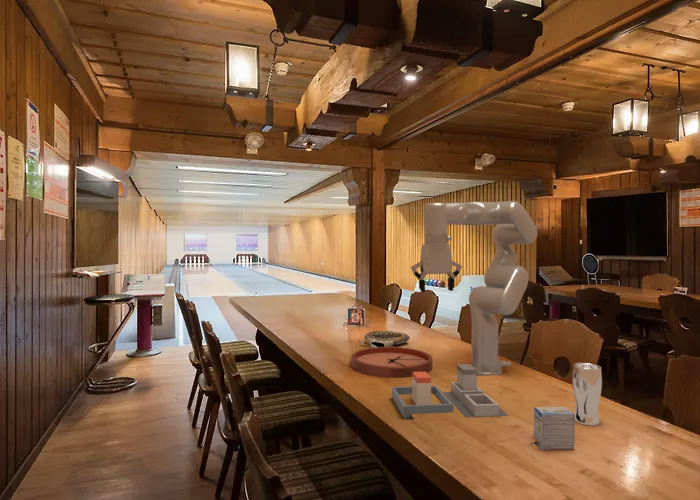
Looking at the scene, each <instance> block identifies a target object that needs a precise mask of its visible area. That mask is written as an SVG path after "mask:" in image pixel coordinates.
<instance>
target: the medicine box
mask: <svg viewBox="0 0 700 500" xmlns="http://www.w3.org/2000/svg"><path fill="white" fill-rule="evenodd" d="M575 426H576V421H575V412H572V410H571V409H570V408H567V407H566V406H540V407H539V406H538V407H537V406H536V407H534V408H533V437H534V438H535V439H536V440H537V441H534V443H535V445H536V446H537V447H538V448H539V449H540V450H541V451H553V450H554V451H555V450H559V451H560V450H561V451H562V450H575V437H576V436H575V435H576V434H575V431H576V428H575Z"/></svg>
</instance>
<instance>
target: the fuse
mask: <svg viewBox="0 0 700 500" xmlns="http://www.w3.org/2000/svg"><path fill="white" fill-rule="evenodd" d="M456 382H457V386H458V387H459V388H460V389H461V390H462V391H470V390H477V387H478V375H477V369H475V368H474V367H473V366H471V364H470V363H465V364H464V363H462V364H460V363H457V364H456Z"/></svg>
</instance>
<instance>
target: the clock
mask: <svg viewBox="0 0 700 500" xmlns="http://www.w3.org/2000/svg"><path fill="white" fill-rule="evenodd" d="M350 360H351V361H350V363H351V366H350V367H351V368H352V370H354V371H356V372H357V373H360V374H363V375H365V376H371V377H377V378H385V379H386V378H387V379H406V378H412V372H426V373H427V374H429V373H430V372H432V370H433V364H434V363H433V357H432V356H431V354H430V353H427V352H424V351H422V350H418V349H415V348H407V347H400V346H396V347H384V346H377V347H375V348H371V347H367V348H364V349H360V350H357V351H355V352H353V353H352V354H351V358H350Z"/></svg>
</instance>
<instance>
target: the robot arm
mask: <svg viewBox="0 0 700 500" xmlns="http://www.w3.org/2000/svg"><path fill="white" fill-rule="evenodd" d="M423 215H424V216H423V217H424V218H423V219H424V220H423V223H424V224H423V226H424V228H423V229H424V243H423V244H422V245H421V249H420V258H419V259H420V261H419V262H417V263H415V264H413V265H412V266H410V269H411V272H412V273H413V275H414V276H415V277H416V279H418V289H419V291H420V292H422V293H425V292H426V280H425V278H426V276H427V275H442V274H443V275H444V274H445V275H447V276H448V278H447V290H448V291H450V292H453V291H454V288H455V279H456V278H457V276H458V275H459V274H460V273H461V272H460V271H461V269H462V268H463V266H462V265H461V264H460V263H458V262H456V261H454V260H453V256H452V251H451V250H452V249H451V246H450V245H451V244H450V243H448V242H449V241H452V239H453V238H452V236H451V235H449V234H448V225H450V226H451V225H453V226H454V225H458V226H461V225H463V226H490V225H491V226H493V225H495V226H494V228H493V230H492V236H493V242H494V246H495V255H494V257H493V259H492V260H491V262H490V264H489V266H488V268H487V270H486V272H485V274H484V277H483V281H484V284H485V286H477V287H474V288H473V289H471V291H470V293H469V296H468V302H469V303H468V304H469V308H470V316H471V355H470V356H471V358H470V359H471V362H470V363H471V364H470V365H471V366H473V367H474V368H475V369H477V376H501V375H502V374H503V368H509V367H512V364H511V361H505V360H500V359H499V321H498V319H497V318H496V315H500V316H511V315H512V314H513V313H515V312H516V310H517V308H518V306H519V304H520V302H521V300H522V298H523V296H524V293H525V292H526V290H527V288H528V285H529V284H528V283H529V274H528V271H527V269H526V268H525V267H523V266H522V265H517V264H518V255H517V253H516V251H515V249H514V248H513V245H530V244H532V243H534V241H536V239H537V237H538V229H537V226H536V224H535V222H534V221H533V219H532V217H531V216H530V215H529V212H528V211H527V210H526V208H525V207H524V206H523V205H522V204H521V203H520V202H518V201H517V200H508V201H507V200H505V201H470V202H464V203H463V202H429V203H426V204H425V205H424V206H423ZM453 267H455V270H454V271H453ZM417 269H419V271H418V270H417ZM452 271H453V272H452ZM419 272H420V273H419Z"/></svg>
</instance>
